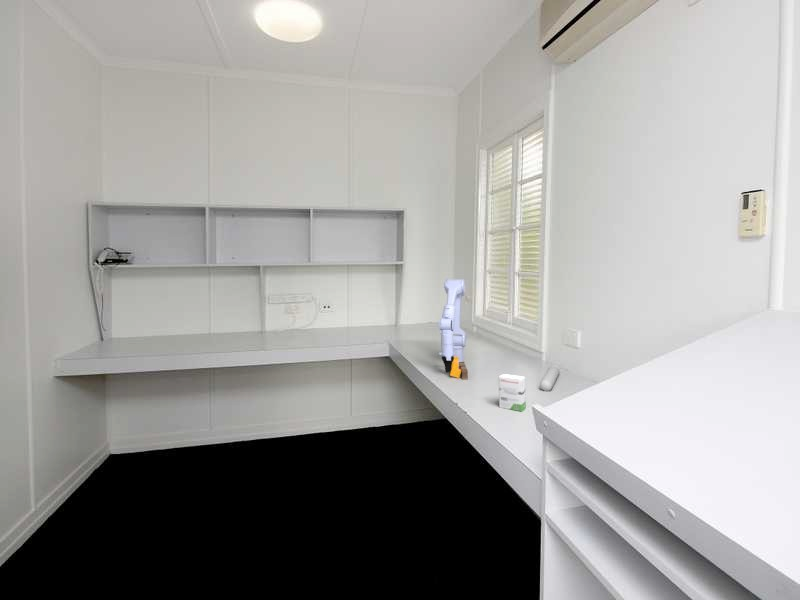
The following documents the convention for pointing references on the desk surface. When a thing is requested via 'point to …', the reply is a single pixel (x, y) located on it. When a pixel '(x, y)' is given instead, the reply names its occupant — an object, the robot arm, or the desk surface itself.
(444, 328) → the robot arm
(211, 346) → the desk surface
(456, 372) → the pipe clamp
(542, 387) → the tube
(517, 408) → the ink box
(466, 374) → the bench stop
